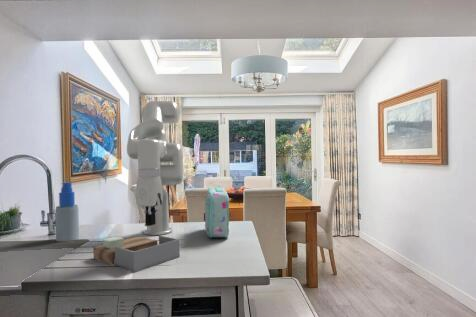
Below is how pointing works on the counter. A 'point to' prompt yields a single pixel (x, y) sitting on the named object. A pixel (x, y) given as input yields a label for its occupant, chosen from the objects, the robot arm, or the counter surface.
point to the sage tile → (113, 242)
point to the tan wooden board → (129, 244)
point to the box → (147, 255)
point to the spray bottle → (67, 215)
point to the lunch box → (216, 212)
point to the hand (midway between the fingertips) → (150, 224)
